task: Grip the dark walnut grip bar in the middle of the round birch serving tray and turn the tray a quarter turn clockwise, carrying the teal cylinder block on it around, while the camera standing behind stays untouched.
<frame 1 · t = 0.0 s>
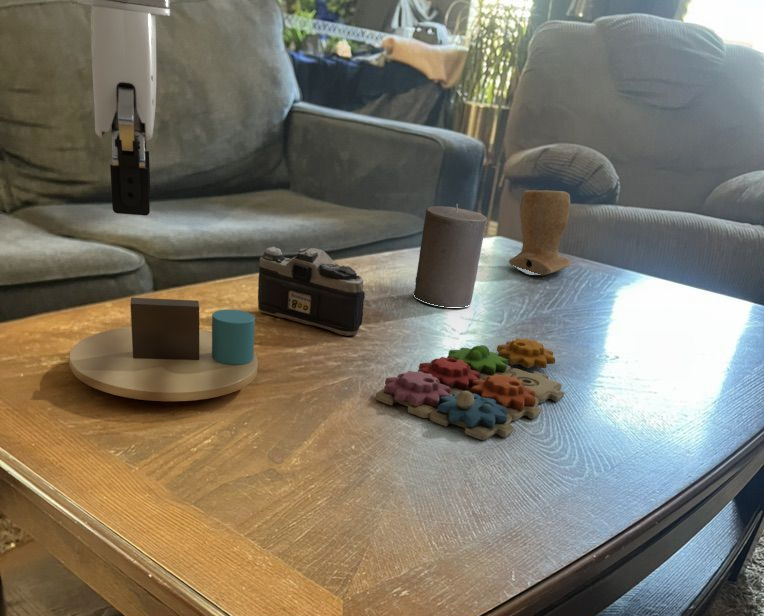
hand: (132, 202, 75), 19 cm above the table, tool pointing down, fingers open, 9 cm apart
teal cylinder block: (232, 357, 88), point 3 cm above the table, touching tray
tray: (165, 333, 84), point 5 cm above the table, hinge at 0.0°, touching teal cylinder block
brown flared block: (534, 270, 154), on the table
pillar candle: (442, 301, 127), on the table
camera: (316, 319, 111), on the table
gear puzzle: (491, 388, 97), on the table
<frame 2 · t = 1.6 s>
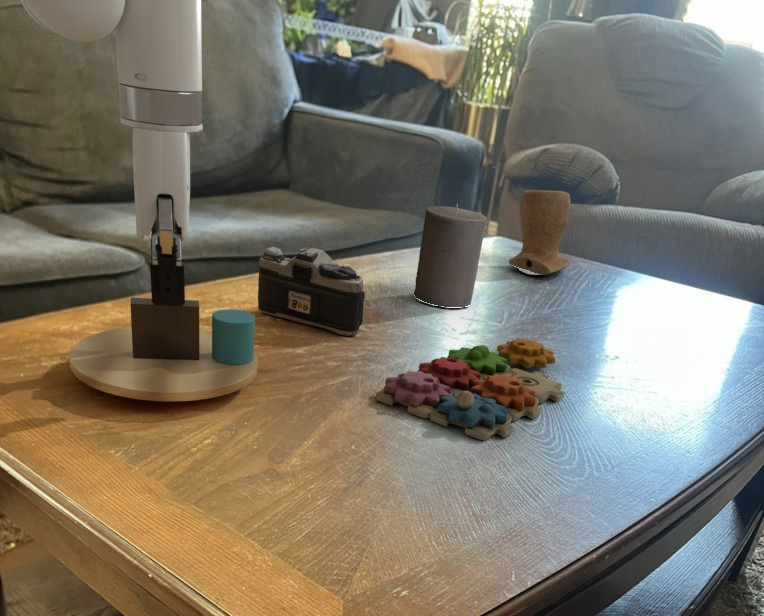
hand: (167, 289, 82), 10 cm above the table, tool pointing down, fingers open, 9 cm apart
nothing on the table moved.
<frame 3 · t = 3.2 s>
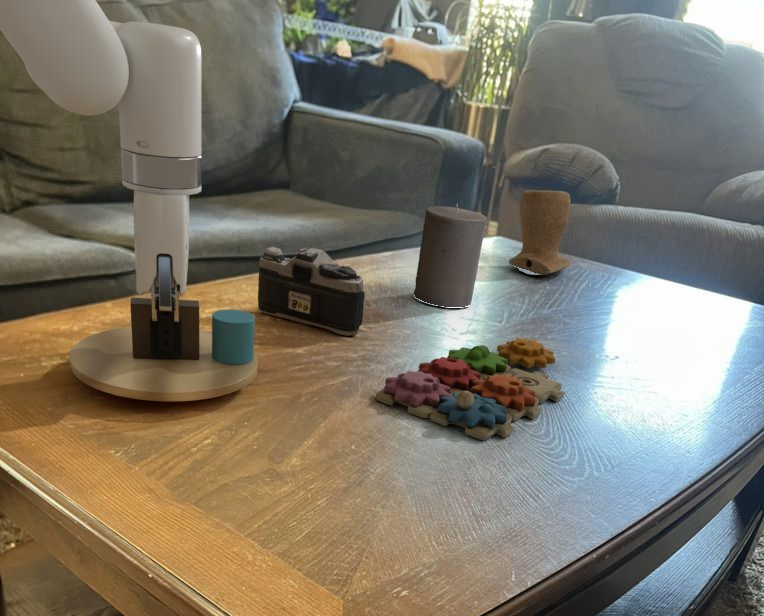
hand: (166, 350, 85), 3 cm above the table, tool pointing down, fingers closed on tray, 2 cm apart
tray: (165, 333, 84), point 5 cm above the table, hinge at 0.0°, touching gripper, teal cylinder block
everything else where it was.
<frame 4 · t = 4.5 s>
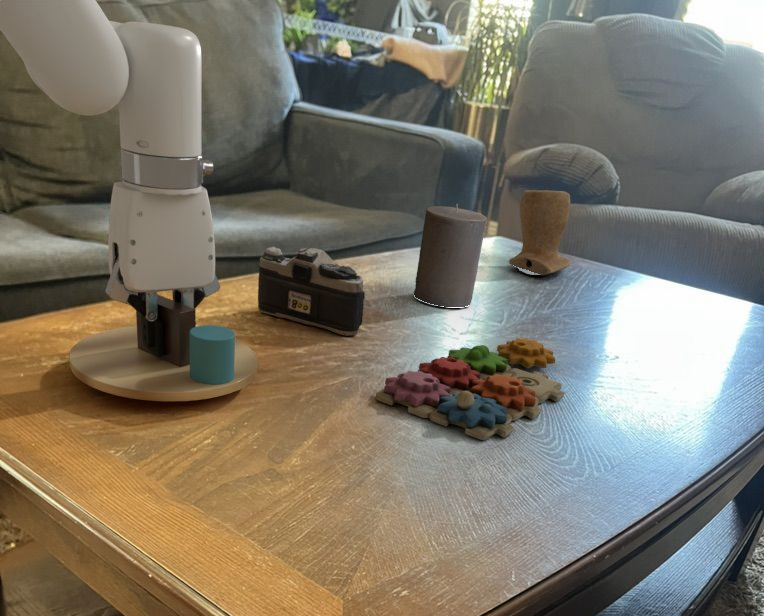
hand: (166, 350, 85), 3 cm above the table, tool pointing down, fingers closed on tray, 2 cm apart
teal cylinder block: (212, 376, 82), point 3 cm above the table, touching tray
tray: (165, 333, 84), point 5 cm above the table, hinge at -50.5°, touching gripper, teal cylinder block
everything else where it was.
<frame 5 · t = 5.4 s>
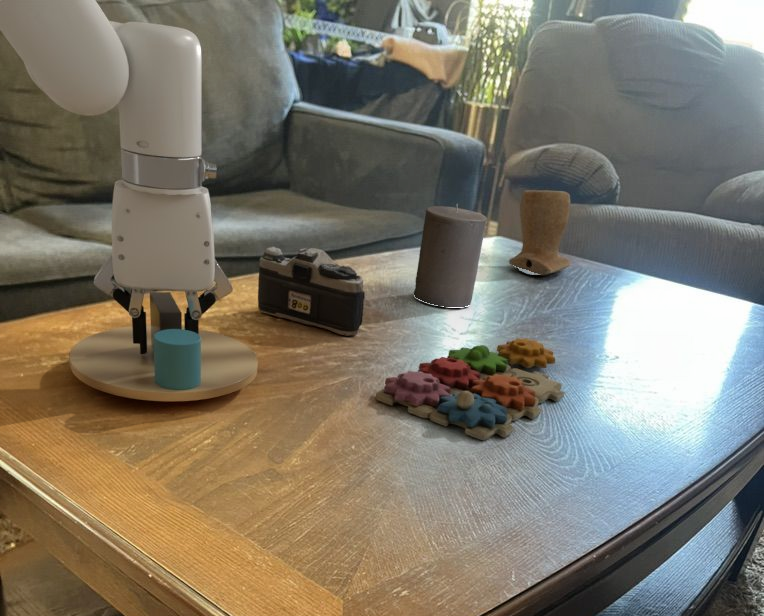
hand: (166, 348, 85), 3 cm above the table, tool pointing down, fingers open, 4 cm apart
teal cylinder block: (178, 381, 80), point 3 cm above the table, touching tray
tray: (165, 333, 84), point 5 cm above the table, hinge at -81.5°, touching teal cylinder block
everything else where it was.
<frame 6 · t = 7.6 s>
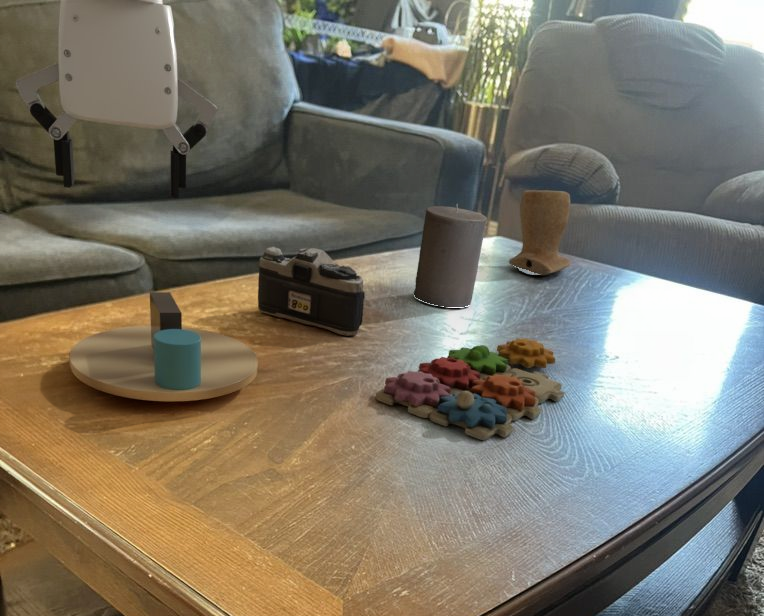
hand: (122, 190, 75), 20 cm above the table, tool pointing down, fingers open, 9 cm apart
nothing on the table moved.
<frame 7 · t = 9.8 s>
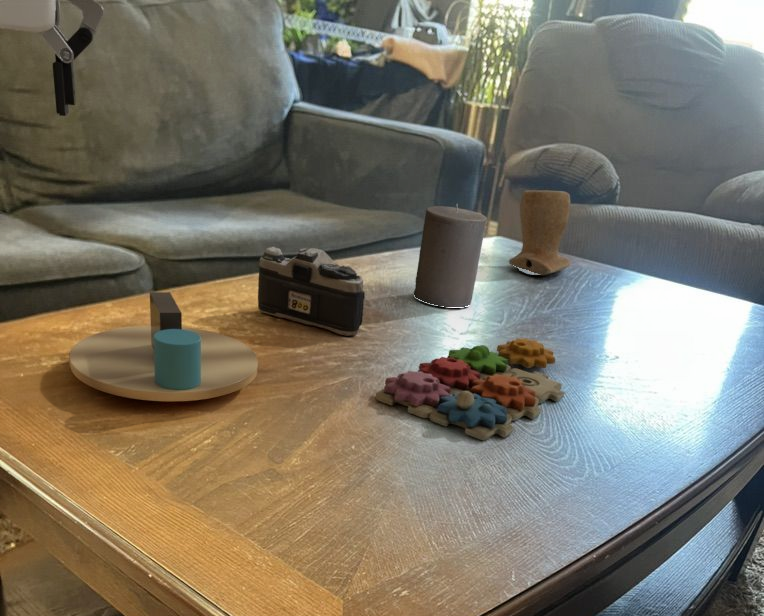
hand: (2, 107, 66), 26 cm above the table, tool pointing down, fingers open, 9 cm apart
nothing on the table moved.
at the end: tray at -82° (first picture: +0°); teal cylinder block 1.1 cm from the target spot on the tray, point 2.6 cm above the tray's base; camera moved 0.2 cm from its start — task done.
